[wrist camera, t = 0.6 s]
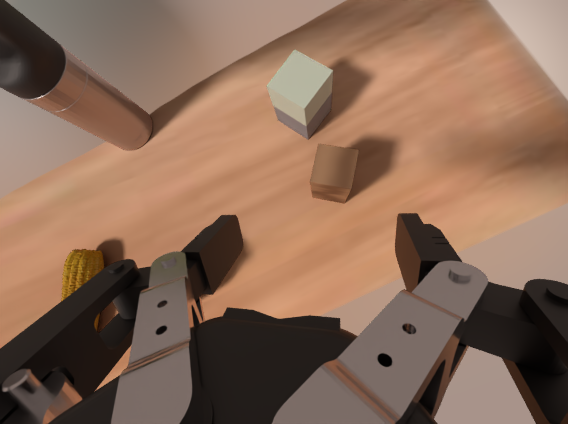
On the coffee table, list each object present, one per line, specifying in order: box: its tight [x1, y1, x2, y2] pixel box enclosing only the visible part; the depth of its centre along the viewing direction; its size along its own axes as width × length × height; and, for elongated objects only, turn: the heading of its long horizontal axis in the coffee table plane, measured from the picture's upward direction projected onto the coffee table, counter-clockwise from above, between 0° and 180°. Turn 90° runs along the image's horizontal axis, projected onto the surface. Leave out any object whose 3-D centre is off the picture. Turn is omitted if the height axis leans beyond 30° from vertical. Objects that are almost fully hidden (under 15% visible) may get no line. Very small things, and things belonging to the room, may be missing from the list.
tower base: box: [274, 93, 332, 139], centre depth 42 cm, size 7×7×5 cm
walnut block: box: [310, 144, 359, 203], centre depth 37 cm, size 6×6×10 cm
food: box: [61, 249, 104, 330], centre depth 43 cm, size 21×6×6 cm, turn 2°
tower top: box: [267, 49, 333, 126], centre depth 38 cm, size 7×7×5 cm
